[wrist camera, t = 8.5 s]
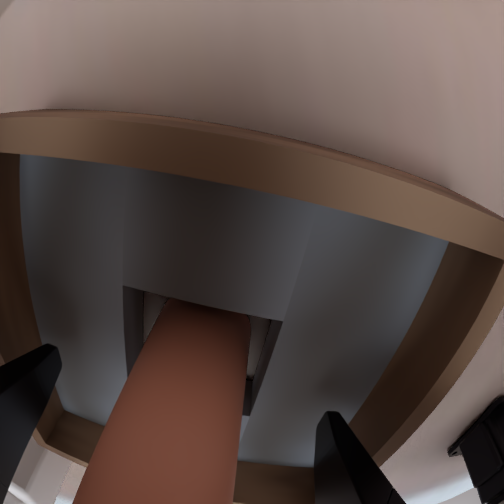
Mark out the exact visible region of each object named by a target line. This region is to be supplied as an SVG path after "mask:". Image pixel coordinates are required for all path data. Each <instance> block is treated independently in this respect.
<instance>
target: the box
mask: <svg viewBox="0 0 504 504" xmlns="http://www.w3.org/2000/svg"><path fill="white" fill-rule="evenodd" d="M143 291H147V292H151V293H155V294H159V295H163V296H167V297H171V298H175V299H179V300H183V301H188V302H192V303H196V304H201V305H205V306H210V307H214V308H219V309H224V310H228V311H233V312H238V313H243V314H247V315H252V316H258V317H263V318H268V319H272V322H271V325H270V328H269V331H268V335H267V338H266V341H265V344H264V347H263V351H262V354H261V357H260V360H259V363H258V366H257V369H256V373H255V376H254V379H253V382H252V381H247V380H246V383H245V392H244V402H243V412H242V421H241V431H240V440H239V449H238V459H237V468H236V477H235V486H234V495H233V504H315V488H314V455H315V439H316V427H317V424H318V423H319V421H320V420H321V418H322V416H323V415H324V413H325V412H326V411H337V412H339V413H340V414H341V415H342V417H343V418H344V420H345V421H346V422H347V424H348V425H349V427H350V428H351V429H352V431H353V432H354V434H355V435H356V436H357V438H358V439H359V441H360V442H361V443H362V445H363V446H364V448H365V449H366V450H367V452H368V453H369V454H370V456H371V457H372V459H373V460H374V461H375V463H376V464H377V465H378V467H380V466H381V465H382V464H383V463H384V462H385V461H386V460H387V459H388V458H390V457H391V456H392V455H393V454H394V453H395V452H396V451H397V450H398V449H399V448H400V447H401V446H402V445H403V444H404V443H405V441H406V440H407V439H408V438H409V437H410V436H411V435H412V434H413V433H414V432H415V431H416V430H417V429H418V427H419V426H420V425H421V424H422V423H423V422H424V421H425V420H426V418H427V417H428V416H429V415H430V414H431V413H432V411H433V410H434V409H435V408H436V407H437V405H438V404H439V403H440V402H441V400H442V399H443V398H444V397H445V395H446V394H447V393H448V391H449V390H450V389H451V388H452V386H453V385H454V384H455V382H456V381H457V379H458V378H459V377H460V375H461V374H462V373H463V371H464V370H465V368H466V367H467V365H468V364H469V362H470V361H471V359H472V358H473V356H474V355H475V353H476V352H477V350H478V349H479V347H480V346H481V344H482V342H483V341H484V339H485V338H486V336H487V334H488V333H489V331H490V329H491V328H492V326H493V324H494V322H495V321H496V319H497V317H498V315H499V313H500V312H501V310H502V308H503V306H504V218H502V217H501V216H499V215H497V214H495V213H494V212H492V211H490V210H488V209H487V208H485V207H483V206H481V205H479V204H477V203H475V202H474V201H472V200H470V199H468V198H466V197H464V196H462V195H460V194H458V193H456V192H454V191H452V190H450V189H447V188H445V187H442V186H440V185H437V184H435V183H432V182H430V181H427V180H424V179H422V178H419V177H416V176H414V175H411V174H408V173H405V172H402V171H400V170H397V169H394V168H391V167H388V166H385V165H382V164H379V163H376V162H373V161H370V160H366V159H363V158H360V157H357V156H353V155H350V154H347V153H343V152H340V151H336V150H333V149H329V148H325V147H322V146H318V145H314V144H310V143H306V142H302V141H298V140H294V139H290V138H286V137H281V136H277V135H272V134H268V133H263V132H258V131H253V130H248V129H243V128H238V127H233V126H227V125H221V124H215V123H209V122H203V121H196V120H190V119H182V118H175V117H167V116H158V115H149V114H139V113H127V112H114V111H97V110H67V109H42V110H29V111H19V112H9V113H1V114H0V366H2V365H4V364H6V363H8V362H10V361H12V360H14V359H16V358H18V357H20V356H22V355H24V354H26V353H28V352H30V351H32V350H34V349H36V348H38V347H40V346H42V345H44V344H46V343H50V344H52V345H55V346H57V347H58V349H59V353H60V357H61V360H62V369H61V372H60V374H59V377H58V379H57V381H56V384H55V386H54V389H53V392H52V394H51V397H50V399H49V402H48V404H47V406H46V408H45V410H44V412H43V414H42V416H41V418H40V420H39V422H38V424H37V426H36V428H35V430H34V432H33V434H32V436H33V438H34V439H35V441H36V442H37V444H38V445H40V446H42V447H44V448H46V449H48V450H50V451H52V452H54V453H56V454H58V455H60V456H62V457H64V458H66V459H68V460H70V461H73V462H75V463H77V464H79V465H82V466H84V467H86V468H87V466H88V464H89V462H90V459H91V457H92V455H93V452H94V450H95V448H96V445H97V443H98V441H99V439H100V436H101V434H102V432H103V430H104V427H105V425H106V423H107V421H108V419H109V416H110V414H111V412H112V410H113V408H114V406H115V403H116V401H117V399H118V397H119V395H120V393H121V391H122V389H123V386H124V384H125V382H126V380H127V378H128V376H129V374H130V372H131V370H132V368H133V366H134V364H135V362H136V360H137V358H138V356H139V354H140V352H141V350H142V348H143Z"/></svg>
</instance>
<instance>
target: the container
mask: <svg viewBox="0 0 504 504" xmlns="http://www.w3.org/2000/svg"><path fill="white" fill-rule="evenodd" d="M71 463H72V461H70V460H68V459H66V458H64V457H62V456H60V455H58V454H56V453H54V452H52V451H50V450H48V449H46V448H44V447H42V446H40V445H38V444H37V442H36V441H35V439H34V438H33V436H31V438H30V440H29V443H28V445H27V447H26V449H25V451H24V453H23V456H22V458H21V460H20V463H19V465H18V467H17V469H16V472H15V474H14V477H13V479H12V481H11V484H10V486H9V489H8V492H7V495H6V497H5V500H4V503H3V504H54V502H55V500H56V497H57V495H58V493H59V490H60V488H61V486H62V483H63V481H64V479H65V476H66V474H67V472H68V470H69V467H70V465H71Z"/></svg>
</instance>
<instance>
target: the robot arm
mask: <svg viewBox="0 0 504 504" xmlns="http://www.w3.org/2000/svg"><path fill="white" fill-rule="evenodd" d="M61 369H62V360H61V357H60V353H59V349H58V347H57V346H55V345H52V344H50V343H46V344H44V345H42V346H40V347H38V348H36V349H34V350H32V351H30V352H28V353H26V354H24V355H22V356H20V357H18V358H16V359H14V360H12V361H10V362H8V363H6V364H4V365H2V366H0V504H3V503H4V500H5V497H6V495H7V492H8V489H9V486H10V484H11V481H12V479H13V477H14V474H15V472H16V469H17V467H18V465H19V463H20V460H21V458H22V456H23V453H24V451H25V449H26V447H27V445H28V443H29V440H30V438H31V436H32V434H33V432H34V430H35V428H36V426H37V424H38V422H39V420H40V418H41V416H42V414H43V412H44V410H45V408H46V406H47V404H48V402H49V399H50V397H51V394H52V392H53V389H54V386H55V384H56V381H57V379H58V377H59V374H60V372H61ZM447 453H448V456H449V457H452V456H458V455H463V458H464V461H465V463H466V466H467V469H468V472H469V475H470V477H471V480H472V483H473V486H474V487H475V488H477V491H478V494H479V497H480V500H481V503H482V504H485V503H487V504H504V397H501V398H499V399H497V400H496V401H495V402H494V403H493V404H492V405H491V406H490V407H489V409H488V410H487V411H486V412H485V413H484V414H483V415H482V417H481V418H480V419H479V420H478V421H477V422H476V423H475V424H474V425H473V426H472V427H471V429H470V430H469V431H468V432H467V433H466V434H465V435H464V436H463V437H462V438H461V439H460V440H459V441H458V442H457V443H456V444H455V445H454V446H453V447H452V448H451V449H450V450H449V451H448V452H447ZM314 488H315V504H406V503H405V502H404V500H403V499H402V498H401V497H400V495H399V494H398V493H397V491H396V490H395V489H394V488H393V486H392V485H391V483H390V482H389V481H388V479H387V478H386V476H385V475H384V474H383V472H382V471H381V470H380V468H379V467H378V465H377V464H376V463H375V461H374V460H373V459H372V457H371V456H370V454H369V453H368V452H367V450H366V449H365V448H364V446H363V445H362V443H361V442H360V441H359V439H358V438H357V436H356V435H355V434H354V432H353V431H352V429H351V428H350V427H349V425H348V424H347V422H346V421H345V420H344V418H343V417H342V415H341V414H340V413H339V412H337V411H326V412H325V413H324V415H323V416H322V418H321V420H320V421H319V423H318V424H317V427H316V439H315V455H314Z"/></svg>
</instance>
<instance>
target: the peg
mask: <svg viewBox="0 0 504 504" xmlns="http://www.w3.org/2000/svg"><path fill="white" fill-rule="evenodd" d="M250 334H251V327H250V322H249V319H248V317H247V315H246V314H243V313H238V312H233V311H228V310H224V309H219V308H214V307H210V306H205V305H201V304H196V303H192V302H188V301H183V300H179V299H175V298H170V299H169V300H168V301H167V302H166V303H165V305H164V307H163V309H162V311H161V313H160V315H159V316H158V318H157V320H156V322H155V324H154V326H153V328H152V330H151V332H150V334H149V336H148V338H147V340H146V342H145V344H144V346H143V348H142V350H141V352H140V354H139V356H138V358H137V360H136V362H135V364H134V366H133V368H132V370H131V372H130V374H129V376H128V378H127V380H126V382H125V384H124V386H123V389H122V391H121V393H120V395H119V397H118V399H117V401H116V403H115V406H114V408H113V410H112V412H111V414H110V416H109V419H108V421H107V423H106V425H105V427H104V430H103V432H102V434H101V436H100V439H99V441H98V443H97V445H96V448H95V450H94V452H93V455H92V457H91V459H90V462H89V464H88V466H87V469H86V471H85V474H84V476H83V478H82V481H81V483H80V486H79V488H78V491H77V493H76V496H75V498H74V501H73V503H72V504H233V495H234V486H235V477H236V468H237V459H238V449H239V440H240V431H241V421H242V412H243V402H244V392H245V383H246V373H247V363H248V353H249V344H250Z"/></svg>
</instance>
